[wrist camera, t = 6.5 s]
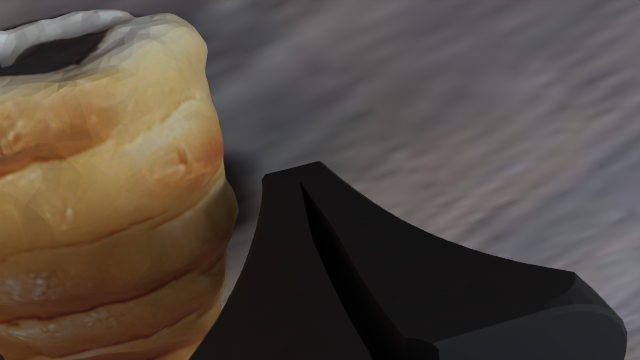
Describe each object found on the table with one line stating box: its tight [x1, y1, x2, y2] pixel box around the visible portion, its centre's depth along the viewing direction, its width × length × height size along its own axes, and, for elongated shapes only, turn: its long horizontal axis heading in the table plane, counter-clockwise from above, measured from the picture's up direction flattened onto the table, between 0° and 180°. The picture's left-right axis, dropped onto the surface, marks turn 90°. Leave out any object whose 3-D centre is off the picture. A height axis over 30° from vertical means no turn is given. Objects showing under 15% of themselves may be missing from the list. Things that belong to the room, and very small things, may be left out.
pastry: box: [0, 10, 239, 360], centre depth 12 cm, size 9×7×4 cm
